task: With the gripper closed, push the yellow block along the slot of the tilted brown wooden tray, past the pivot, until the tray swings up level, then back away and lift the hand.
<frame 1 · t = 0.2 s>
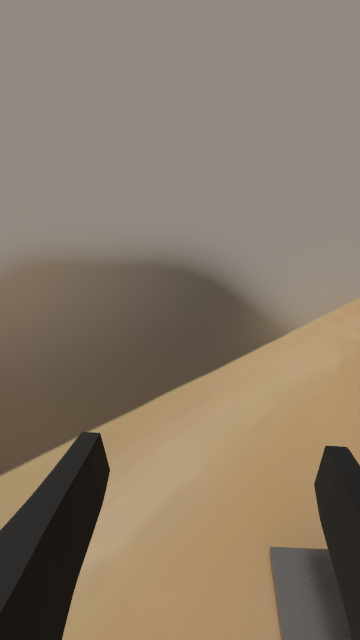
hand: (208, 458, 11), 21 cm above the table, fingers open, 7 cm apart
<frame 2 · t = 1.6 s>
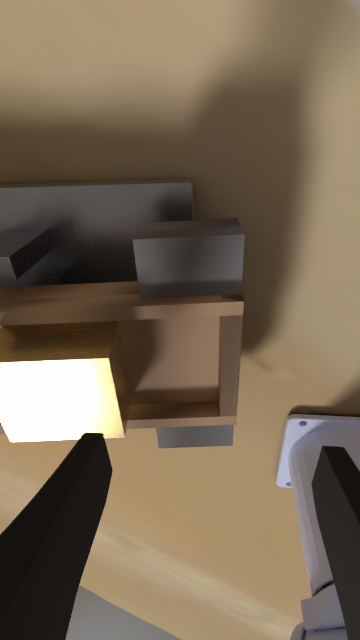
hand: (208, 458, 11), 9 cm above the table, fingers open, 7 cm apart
brown wooden tray: (22, 361, 16), point 5 cm above the table, hinge at -6.6°, touching yellow block
yellow block: (71, 363, 15), point 5 cm above the table, tilted 7°, touching brown wooden tray
pivot stand: (61, 308, 20), on the table
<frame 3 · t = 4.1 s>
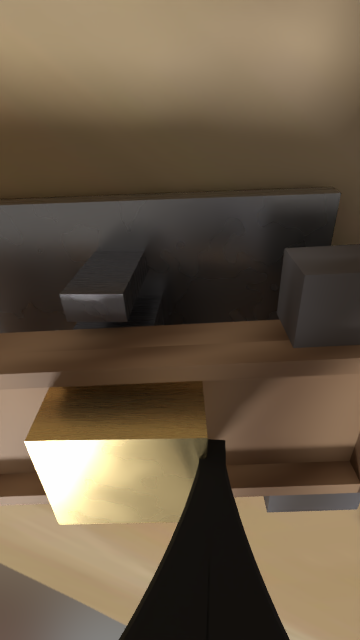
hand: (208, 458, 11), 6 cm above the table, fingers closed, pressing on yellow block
brown wooden tray: (117, 416, 13), point 5 cm above the table, hinge at -5.5°, touching yellow block
yellow block: (133, 421, 12), point 5 cm above the table, tilted 6°, touching brown wooden tray, gripper
pivot stand: (139, 340, 17), on the table
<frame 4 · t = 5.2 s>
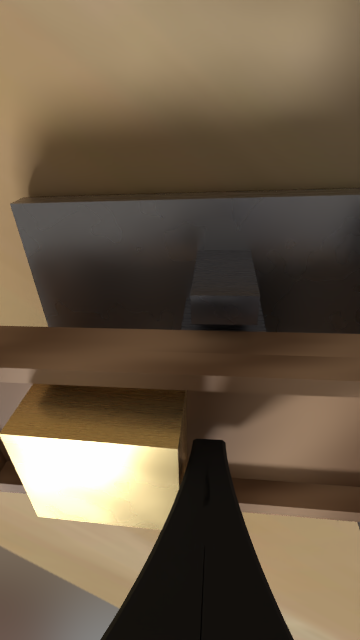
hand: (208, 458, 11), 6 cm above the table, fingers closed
brown wooden tray: (221, 423, 12), point 5 cm above the table, hinge at 0.4°, touching yellow block
yellow block: (119, 422, 12), point 5 cm above the table, touching brown wooden tray, gripper
pivot stand: (221, 342, 16), on the table
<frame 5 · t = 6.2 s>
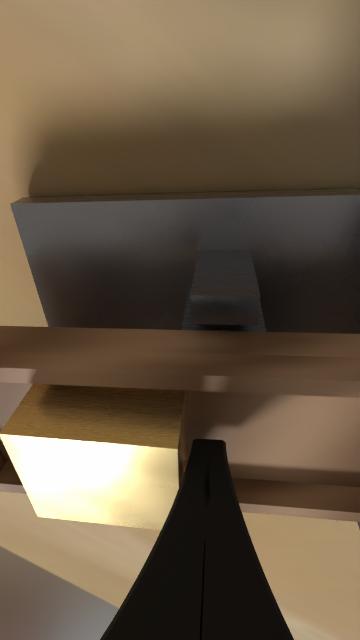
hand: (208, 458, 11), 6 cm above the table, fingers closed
brown wooden tray: (221, 423, 12), point 5 cm above the table, hinge at 0.4°, touching yellow block
yellow block: (119, 422, 12), point 5 cm above the table, touching brown wooden tray, gripper
pivot stand: (221, 342, 16), on the table
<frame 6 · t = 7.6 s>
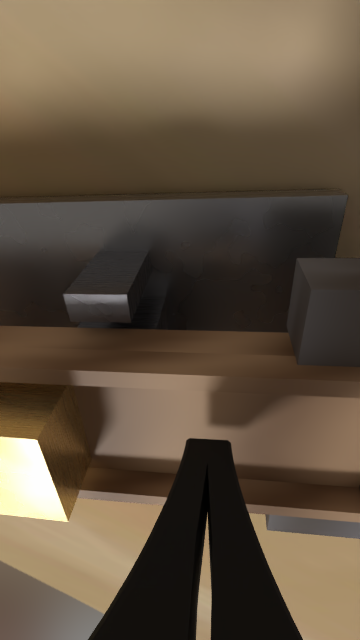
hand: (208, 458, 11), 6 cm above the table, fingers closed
brown wooden tray: (116, 417, 13), point 5 cm above the table, hinge at 0.4°, touching yellow block
yellow block: (19, 416, 13), point 5 cm above the table, touching brown wooden tray
pivot stand: (142, 340, 17), on the table
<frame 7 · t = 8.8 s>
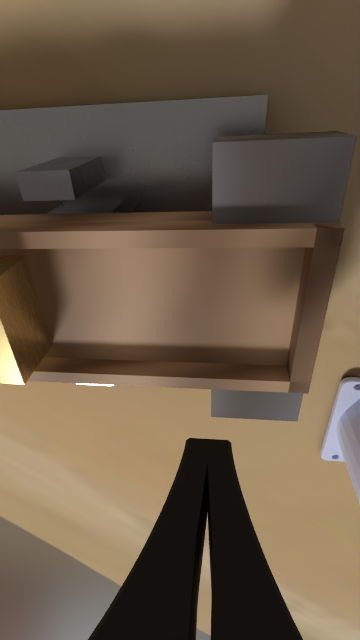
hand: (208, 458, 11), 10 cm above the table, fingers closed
brown wooden tray: (70, 301, 14), point 5 cm above the table, hinge at 0.4°, touching yellow block
pivot stand: (104, 257, 18), on the table
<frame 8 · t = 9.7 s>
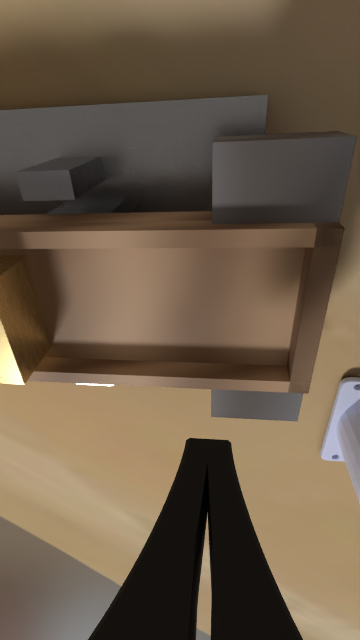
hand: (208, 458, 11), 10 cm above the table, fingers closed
brown wooden tray: (70, 301, 14), point 5 cm above the table, hinge at 0.4°, touching yellow block
pivot stand: (104, 257, 18), on the table
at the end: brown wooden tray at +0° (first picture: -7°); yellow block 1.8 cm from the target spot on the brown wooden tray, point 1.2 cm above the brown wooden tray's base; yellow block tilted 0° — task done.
